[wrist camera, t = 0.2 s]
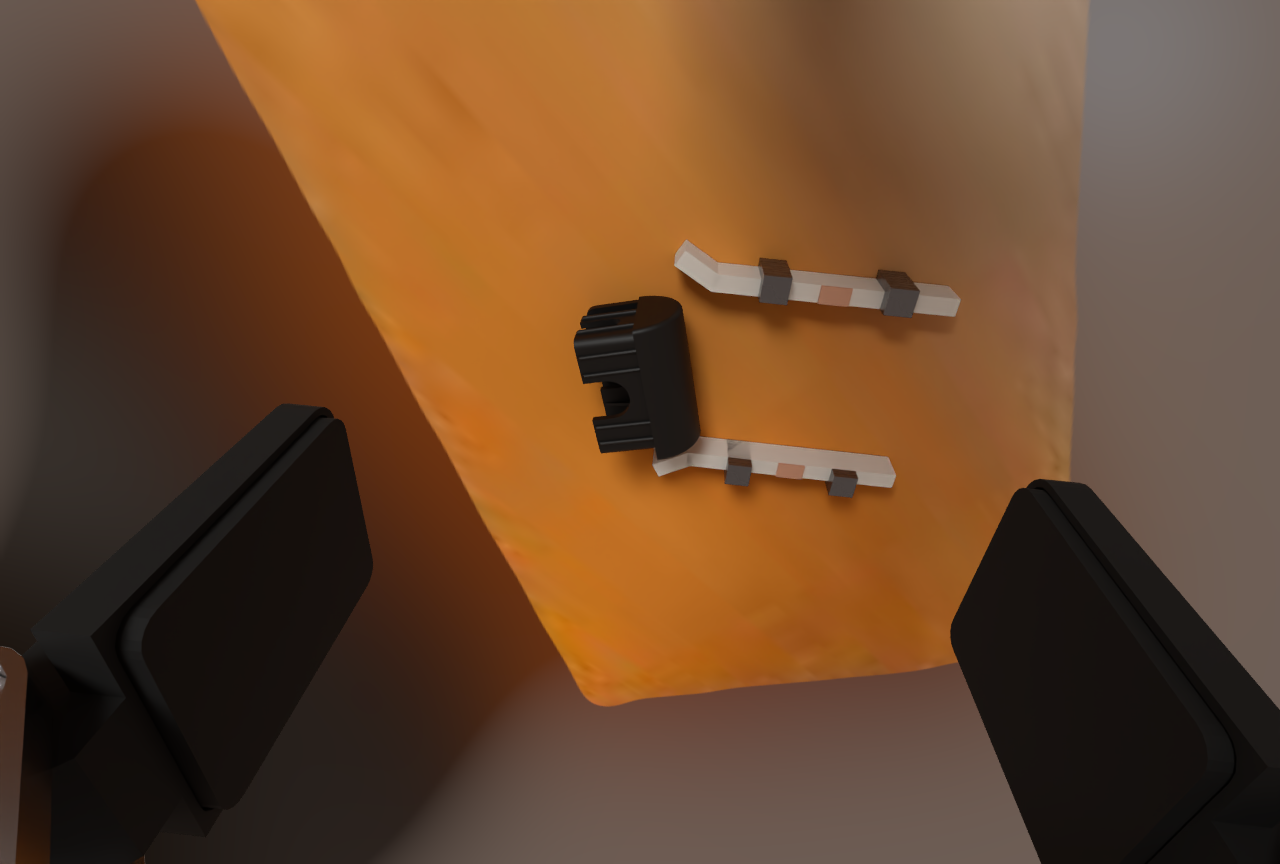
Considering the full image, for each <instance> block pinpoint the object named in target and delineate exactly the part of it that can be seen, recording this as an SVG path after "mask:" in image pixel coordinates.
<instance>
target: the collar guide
mask: <svg viewBox="0 0 1280 864" xmlns="http://www.w3.org/2000/svg"><path fill="white" fill-rule="evenodd" d="M674 266H676V267H677V268H678V269H680V270H681V271H683V272H684V273H685V274H687V275H688V276H690V277H691V278H692V279H694V280H695V281H697V282H698V283H699V284H701V285H702V286H704V287H705V288H706V289H708V290H709V291H711V292H718V293H728V294H737V295H747V296H757V297H758V299H759V302H762V303H771V304H781V305H787V303H788V300H796V301H805V302H815V303H818V304H824V305H834V306H844V307H848V306H854V307H864V308H874V309H880V310H881V312H882V314H883V315H888V316H898V317H907V318H912V315H913V313H922V314H932V315H942V316H951V317H955V315H956V312H957V310H958V307H959V304H960V301H961V299H960V298H959V297H958V296H957V294H956V293H955V292H954V291H953V290H952V289H951V288H950V287H949V286H944V285H935V284H925V283H915V282H912V280H911V279H910V278H909V277H908V275H907V274H906V273H904V272H894V271H884V270H878V273H877V277H876V278H866V277H856V276H846V275H836V274H827V273H817V272H807V271H797V270H790V269H789V266H788V263H787V261H786V260H776V259H766V258H760V260H759V265H758V266H748V265H738V264H728V263H719V262H716V261H715V260H714V259H712V258H711V257H710V256H708V255H707V254H705V253H704V252H703V251H701V250H700V249H699V248H697V247H696V246H694V245H693V244H692V243H690V242H689V241H688V240H685V241H684V243H683V244H682V246H681V247H680V248H679V250H678V251H677V252H676V254H675V264H674ZM652 465H653V467H654V469H655V471H656V472H657V474H658V476H661V475H664V474H667V473H670V472H673V471H676V470H679V469H682V468H685V467H688V466H695V467H704V468H713V469H723V470H724V478H725V484H732V485H741V486H748V484H749V480H750V475H751V473H759V474H769V475H776V477H782V478H791V479H801V480H802V478H805V479H815V480H824V481H825V483H826V487H827V491H828V494H829V495H833V496H842V497H851V498H852V496H853V493H854V490H855V487H856V484H860V485H870V486H879V487H888V488H892V486H893V483H894V480H895V477H896V474H895V472H894V469H893V467H892V465H891V462H890V460H889V458H888V457H885V456H876V455H867V454H857V453H848V452H839V451H830V450H820V449H811V448H802V447H793V446H783V445H774V444H765V443H755V442H746V441H737V440H728V439H718V438H709V437H700V436H699V438H698V440H697V442H696V443H695V444H694V445H693V446H692V447H691V448H689V449H688V450H687V451H685V452H683V453H681V454H679V455H677V456H674V457H671V458H667V459H662V460H657V456H656V451H655V448H654V454H653V464H652Z"/></svg>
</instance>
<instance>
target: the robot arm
mask: <svg viewBox="0 0 1280 864" xmlns="http://www.w3.org/2000/svg"><path fill="white" fill-rule="evenodd" d="M372 569H373V559H372V554H371V549H370V544H369V539H368V534H367V530H366V525H365V520H364V516H363V510H362V505H361V500H360V496H359V491H358V486H357V481H356V476H355V472H354V467H353V462H352V457H351V452H350V447H349V442H348V438H347V433H346V429H345V425H344V423H343V422H342V421H341V420H339V419H334V416H333V414H332V413H331V411H330V410H329V409H327V408H325V407H317V406H307V405H296V404H281V405H280V406H278V407H277V408H275V409H274V410H273V411H272V412H271V413H270V414H269V415H267V416H266V417H265V418H264V419H263V420H262V421H261V422H260V423H259V424H258V425H256V426H255V427H254V428H253V429H252V430H251V431H250V432H249V433H248V434H247V435H246V436H244V437H243V438H242V439H241V440H240V441H239V442H238V443H236V444H235V445H234V446H233V447H232V448H231V449H230V450H229V451H228V452H227V453H225V454H224V455H223V456H222V457H221V458H220V459H219V460H218V461H216V462H215V463H214V464H213V465H212V466H211V467H210V468H209V469H208V470H207V471H205V472H204V473H203V474H202V475H201V476H200V477H199V478H198V479H197V480H196V481H194V482H193V483H192V484H191V485H190V486H189V487H188V488H187V489H186V490H184V491H183V492H182V493H181V494H180V495H179V496H178V497H177V498H175V499H174V500H173V501H172V502H171V503H170V504H169V505H168V506H167V507H166V508H164V509H163V510H162V511H161V512H160V513H159V514H158V515H157V516H156V517H154V519H152V520H151V521H150V522H149V523H148V524H147V525H146V526H144V527H143V528H142V529H141V530H140V531H139V532H138V533H137V534H136V535H134V536H133V537H132V538H131V539H130V540H129V541H128V542H127V543H126V544H125V545H124V546H122V547H121V548H120V549H119V550H118V551H117V552H116V553H115V554H114V555H112V556H111V557H110V558H109V559H108V560H107V561H106V562H105V563H103V564H102V565H101V566H100V567H99V568H98V569H97V570H96V571H95V572H93V573H92V574H91V575H90V576H89V577H88V578H87V579H86V580H85V581H83V582H82V583H81V584H80V585H79V586H78V587H77V588H76V589H75V590H74V591H72V592H71V593H70V594H69V595H68V596H67V597H66V598H65V599H64V600H62V601H61V602H60V603H59V604H58V605H57V606H56V607H55V608H54V609H52V610H51V611H50V612H49V613H48V614H47V615H46V616H45V617H44V618H43V619H41V620H40V621H39V622H38V623H37V624H36V625H35V626H34V627H33V628H31V632H32V633H33V635H34V636H35V638H36V639H37V642H36V643H35V644H34V645H33V646H32V647H31V648H30V649H28V651H26V652H25V653H24V654H23V655H22V656H21V655H19V654H18V653H17V652H15V651H14V650H13V649H12V648H7V647H2V646H0V864H145V858H144V854H145V852H146V851H147V849H148V848H149V847H150V845H151V843H152V842H153V840H154V839H155V838H156V836H157V835H158V833H159V832H167V833H176V834H184V835H192V836H201V837H206V836H207V834H208V833H209V831H210V829H211V828H212V826H213V825H214V823H215V821H216V819H217V818H218V816H219V815H220V813H221V811H222V810H223V809H226V810H227V809H230V808H232V807H234V806H235V805H236V804H237V803H238V802H239V801H240V799H241V798H242V796H243V795H244V793H245V792H246V790H247V788H248V786H249V785H250V783H251V782H252V780H253V778H254V776H255V775H256V773H257V771H258V770H259V768H260V766H261V765H262V763H263V761H264V760H265V758H266V756H267V755H268V753H269V751H270V749H271V747H272V746H273V744H274V742H275V741H276V739H277V738H278V736H279V734H280V732H281V731H282V729H283V727H284V726H285V724H286V722H287V721H288V719H289V717H290V715H291V714H292V712H293V710H294V709H295V707H296V705H297V704H298V702H299V700H300V699H301V697H302V695H303V694H304V692H305V690H306V688H307V687H308V685H309V684H310V682H311V680H312V678H313V677H314V675H315V673H316V671H317V670H318V668H319V667H320V665H321V663H322V661H323V660H324V658H325V656H326V655H327V653H328V651H329V650H330V648H331V646H332V644H333V643H334V641H335V640H336V638H337V636H338V634H339V633H340V631H341V629H342V628H343V626H344V624H345V623H346V621H347V619H348V617H349V616H350V614H351V613H352V611H353V609H354V607H355V606H356V604H357V602H358V601H359V599H360V597H361V596H362V594H363V592H364V590H365V589H366V587H367V585H368V583H369V581H370V578H371V575H372ZM950 634H951V644H952V647H953V650H954V653H955V655H956V657H957V660H958V662H959V664H960V667H961V669H962V672H963V674H964V677H965V679H966V682H967V684H968V686H969V689H970V691H971V694H972V696H973V699H974V701H975V703H976V706H977V708H978V711H979V713H980V716H981V718H982V720H983V723H984V725H985V728H986V730H987V733H988V735H989V738H990V740H991V743H992V745H993V747H994V750H995V752H996V755H997V757H998V759H999V762H1000V764H1001V767H1002V769H1003V772H1004V774H1005V777H1006V779H1007V781H1008V784H1009V786H1010V789H1011V791H1012V794H1013V796H1014V799H1015V801H1016V803H1017V806H1018V808H1019V810H1020V813H1021V816H1022V818H1023V820H1024V823H1025V825H1026V828H1027V830H1028V833H1029V835H1030V837H1031V840H1032V842H1033V845H1034V847H1035V850H1036V851H1037V854H1038V857H1039V859H1040V862H1041V864H1280V710H1279V709H1278V707H1277V706H1276V705H1275V704H1274V703H1273V702H1272V700H1271V699H1270V698H1269V697H1268V696H1267V695H1266V693H1265V692H1264V691H1263V690H1262V689H1261V687H1260V686H1259V685H1258V684H1257V683H1256V682H1255V680H1254V679H1253V678H1252V677H1251V676H1250V675H1249V673H1248V672H1247V671H1246V670H1245V669H1244V668H1243V666H1242V665H1241V664H1240V663H1239V662H1238V661H1237V659H1236V658H1235V657H1234V656H1233V655H1232V654H1231V652H1230V651H1229V650H1228V649H1227V648H1226V646H1225V645H1224V644H1223V643H1222V642H1221V641H1220V640H1219V638H1218V637H1217V636H1216V635H1215V634H1214V632H1213V631H1212V630H1211V629H1210V628H1209V626H1208V625H1207V624H1206V623H1205V622H1204V621H1203V619H1202V618H1201V617H1200V616H1199V615H1198V614H1197V612H1196V611H1195V610H1194V609H1193V608H1192V607H1191V606H1190V604H1189V603H1188V602H1187V601H1186V600H1185V598H1184V597H1183V596H1182V595H1181V594H1180V592H1179V591H1178V590H1177V589H1176V588H1175V587H1174V586H1173V584H1172V583H1171V582H1170V581H1169V580H1168V578H1167V577H1166V576H1165V575H1164V574H1163V573H1162V571H1161V570H1160V569H1159V568H1158V567H1157V566H1156V564H1155V563H1154V562H1153V561H1152V560H1151V559H1150V557H1149V556H1148V555H1147V554H1146V553H1145V551H1144V550H1143V549H1142V548H1141V547H1140V546H1139V544H1138V543H1137V542H1136V541H1135V540H1134V539H1133V537H1132V536H1131V535H1130V534H1129V533H1128V532H1127V530H1126V529H1125V528H1124V527H1123V526H1122V525H1121V523H1120V522H1119V521H1118V520H1117V519H1116V517H1115V516H1114V515H1113V514H1112V513H1111V512H1110V511H1109V509H1108V508H1107V507H1106V506H1105V505H1104V503H1103V502H1102V501H1101V500H1100V499H1099V498H1098V497H1097V495H1096V494H1095V493H1094V492H1093V491H1092V489H1090V488H1089V487H1088V486H1087V485H1085V484H1081V483H1075V482H1065V481H1055V480H1045V479H1038V480H1034V481H1033V482H1031V483H1030V484H1029V485H1028V486H1027V488H1021V489H1019V490H1017V491H1016V492H1015V493H1014V495H1013V497H1012V498H1011V501H1010V503H1009V505H1008V507H1007V509H1006V511H1005V513H1004V515H1003V517H1002V519H1001V521H1000V523H999V525H998V528H997V530H996V532H995V534H994V536H993V538H992V540H991V542H990V544H989V546H988V548H987V550H986V552H985V555H984V557H983V559H982V561H981V563H980V565H979V567H978V569H977V571H976V573H975V575H974V577H973V579H972V582H971V584H970V586H969V588H968V590H967V592H966V594H965V596H964V598H963V600H962V602H961V604H960V607H959V609H958V611H957V613H956V615H955V617H954V619H953V622H952V624H951V631H950Z"/></svg>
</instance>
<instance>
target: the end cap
mask: <svg viewBox="0 0 1280 864" xmlns="http://www.w3.org/2000/svg"><path fill="white" fill-rule="evenodd" d="M580 325H581V329H583V328H586V329H584V330H578V331H577V332H576V335H575V338H574V349H575V353H576V357H577V361H578V365H579V369H580V373H581V377H582V381H583V384H587V383H595V382H602V384H603V387H601V394H602V399H603V403H604V407H605V411H606V415H607V416H601V417H593V420H592V421H593V425H594V429H595V433H596V437H597V441H598V445H599V449H600V452H601V453H610V452H620V451H629V450H639V449H648V448H655V451H656V456H657V460H662V459H667V458H671V457H674V456H677V455H679V454H681V453H683V452H685V451H687V450H688V449H689V448H691V447H692V446H693V445H694V444H695V443H696V442H697V440H698V438H699V436H700V431H701V430H700V423H699V416H698V410H697V403H696V396H695V390H694V383H693V376H692V369H691V363H690V356H689V349H688V342H687V336H686V329H685V322H684V316H683V309H682V306H681V304H680V303H679V302H678V301H676V300H674V299H672V298H669V297H663V296H643V297H639V300H633V301H626V302H619V303H611V304H604V305H597V306H593V307H591V308H590V309H589V310H588V312H587V316H583V317H582V319H581V322H580Z"/></svg>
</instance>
